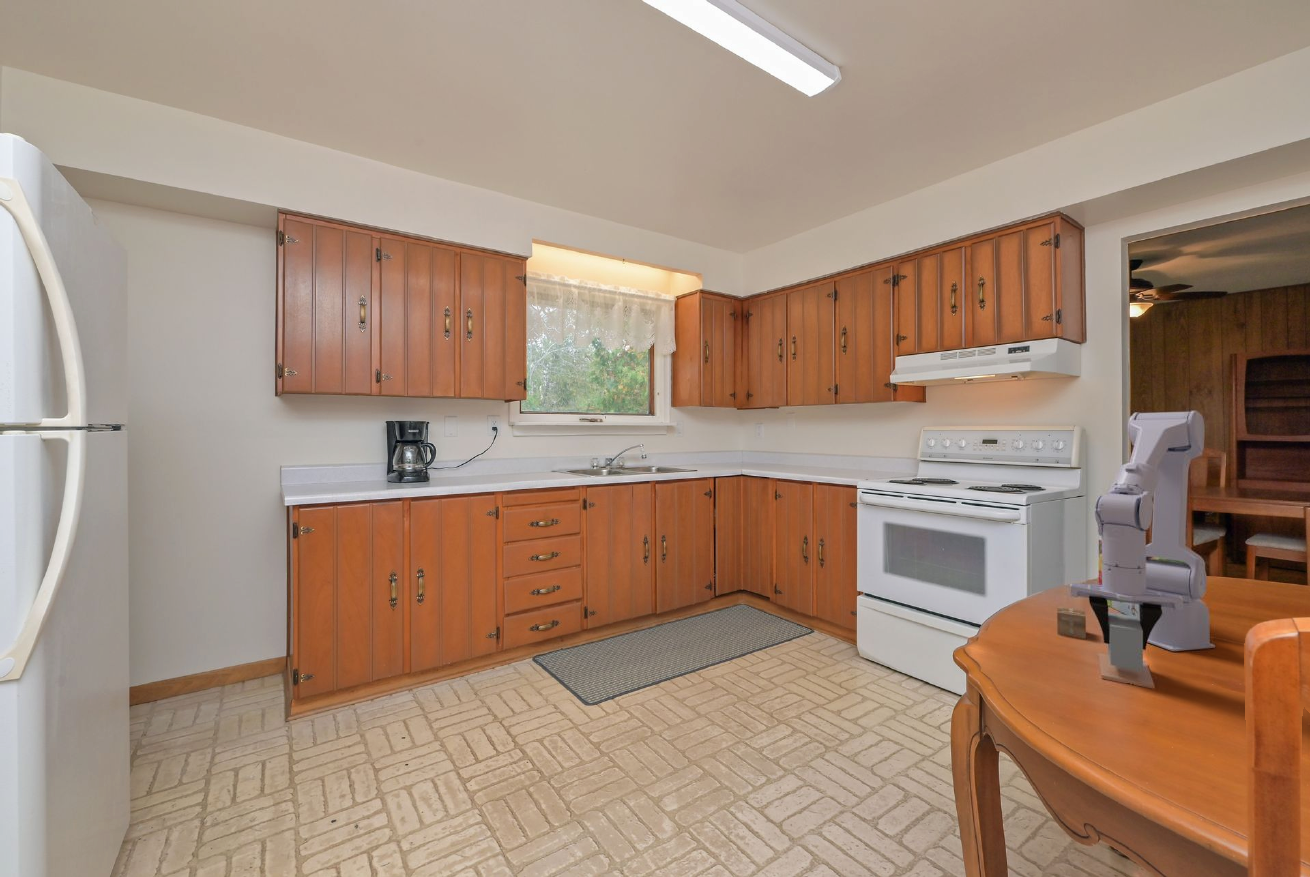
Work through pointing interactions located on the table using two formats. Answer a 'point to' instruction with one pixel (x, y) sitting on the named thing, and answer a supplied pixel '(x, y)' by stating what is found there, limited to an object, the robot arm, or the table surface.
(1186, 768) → the table surface
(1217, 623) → the table surface
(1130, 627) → the gray block
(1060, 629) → the letter block
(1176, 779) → the table surface
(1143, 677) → the terracotta tile
